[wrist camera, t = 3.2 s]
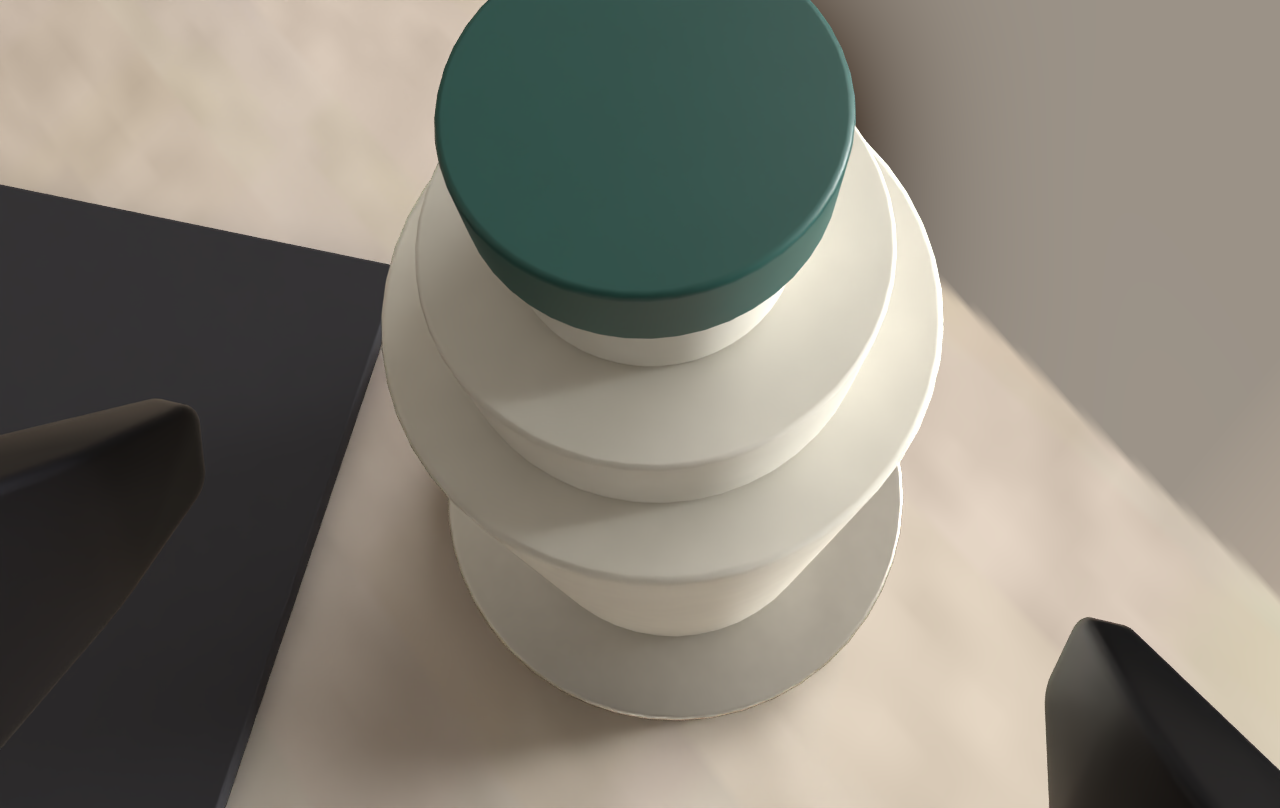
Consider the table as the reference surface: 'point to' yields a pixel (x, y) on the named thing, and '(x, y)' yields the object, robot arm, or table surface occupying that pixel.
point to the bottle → (659, 301)
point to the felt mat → (233, 486)
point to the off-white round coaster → (695, 664)
